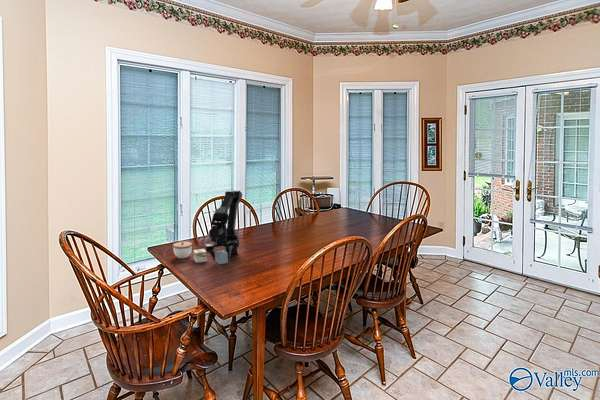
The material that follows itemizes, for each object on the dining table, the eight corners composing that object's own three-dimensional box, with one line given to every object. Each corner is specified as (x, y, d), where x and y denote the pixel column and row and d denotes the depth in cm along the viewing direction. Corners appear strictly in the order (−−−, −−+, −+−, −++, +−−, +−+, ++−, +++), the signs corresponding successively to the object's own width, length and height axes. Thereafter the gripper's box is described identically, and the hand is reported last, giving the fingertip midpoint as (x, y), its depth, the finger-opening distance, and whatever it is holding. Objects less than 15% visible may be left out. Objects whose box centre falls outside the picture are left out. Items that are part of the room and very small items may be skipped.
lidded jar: (172, 260, 207) (172, 244, 205) (174, 254, 217) (173, 239, 215) (192, 259, 209) (191, 243, 208) (192, 253, 220) (192, 238, 218)
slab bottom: (204, 258, 211) (203, 253, 211) (206, 261, 206) (206, 256, 206) (193, 260, 208) (193, 255, 208) (196, 263, 203) (196, 258, 203)
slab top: (204, 253, 211) (204, 248, 210) (206, 256, 205) (206, 251, 205) (193, 255, 208) (193, 250, 207) (195, 258, 203) (195, 253, 202)
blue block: (224, 260, 208) (224, 250, 207) (227, 262, 204) (227, 252, 203) (216, 261, 206) (216, 251, 205) (219, 264, 201) (218, 254, 200)
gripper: (232, 228, 213) (232, 253, 216) (200, 232, 204) (201, 258, 207) (239, 232, 204) (239, 259, 207) (206, 237, 195) (207, 264, 197)
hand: (221, 260), depth 205 cm, fingers open, 9 cm apart
